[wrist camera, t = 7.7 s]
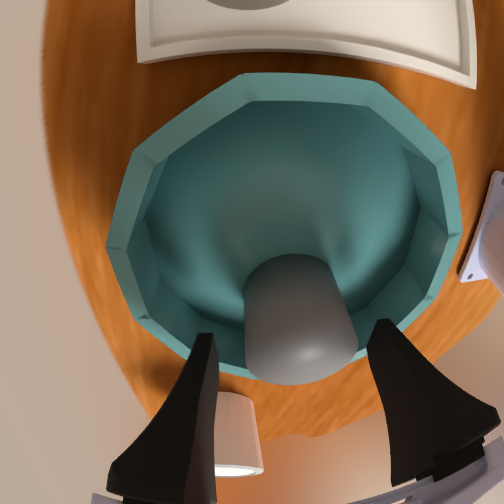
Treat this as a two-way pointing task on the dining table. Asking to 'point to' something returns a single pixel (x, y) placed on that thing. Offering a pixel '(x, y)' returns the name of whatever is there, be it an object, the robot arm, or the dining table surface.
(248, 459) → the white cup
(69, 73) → the dining table surface
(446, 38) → the parts tray
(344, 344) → the charcoal stone
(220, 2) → the brown stone
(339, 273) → the bowl
